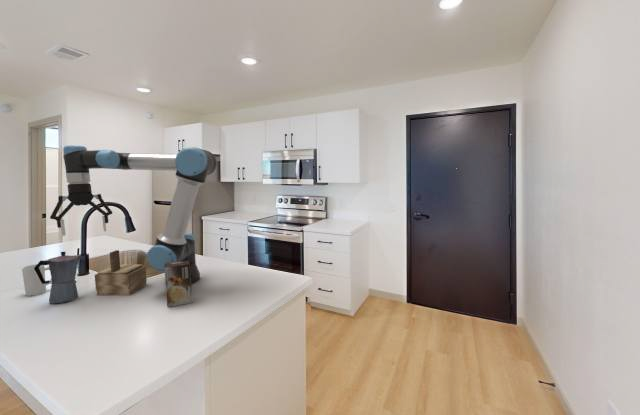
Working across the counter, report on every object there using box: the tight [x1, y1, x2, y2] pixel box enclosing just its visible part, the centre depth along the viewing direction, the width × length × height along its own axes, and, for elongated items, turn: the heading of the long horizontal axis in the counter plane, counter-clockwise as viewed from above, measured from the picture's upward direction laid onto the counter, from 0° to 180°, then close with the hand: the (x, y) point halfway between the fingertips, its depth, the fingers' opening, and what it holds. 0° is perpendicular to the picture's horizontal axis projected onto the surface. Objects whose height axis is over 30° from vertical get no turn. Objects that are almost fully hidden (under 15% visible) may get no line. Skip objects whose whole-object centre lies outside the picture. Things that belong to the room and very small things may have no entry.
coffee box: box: [164, 261, 193, 308], centre depth 113 cm, size 9×6×16 cm
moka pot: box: [34, 251, 83, 304], centre depth 115 cm, size 10×15×20 cm, turn 161°
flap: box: [96, 249, 144, 274], centre depth 125 cm, size 12×11×9 cm
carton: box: [94, 265, 148, 296], centre depth 126 cm, size 15×12×9 cm
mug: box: [21, 263, 52, 297], centre depth 123 cm, size 10×7×12 cm, turn 139°
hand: (85, 233), depth 121 cm, fingers open, 13 cm apart
